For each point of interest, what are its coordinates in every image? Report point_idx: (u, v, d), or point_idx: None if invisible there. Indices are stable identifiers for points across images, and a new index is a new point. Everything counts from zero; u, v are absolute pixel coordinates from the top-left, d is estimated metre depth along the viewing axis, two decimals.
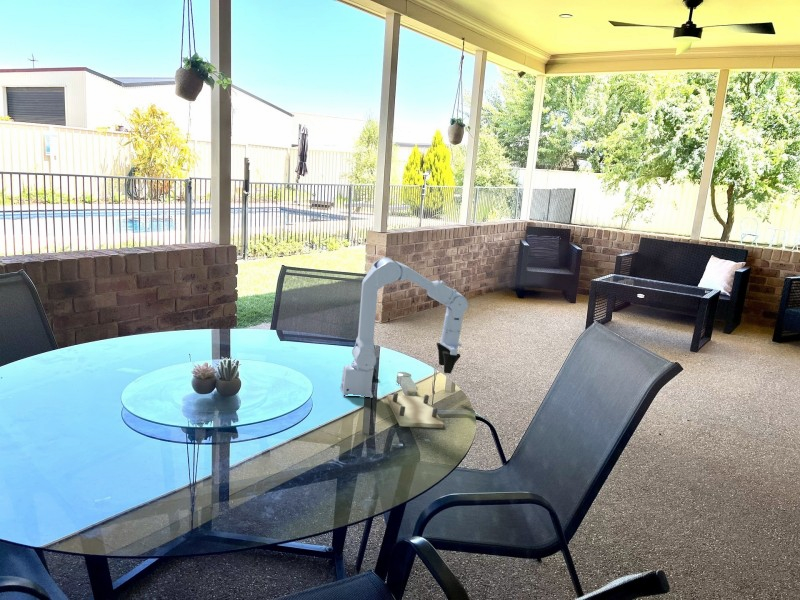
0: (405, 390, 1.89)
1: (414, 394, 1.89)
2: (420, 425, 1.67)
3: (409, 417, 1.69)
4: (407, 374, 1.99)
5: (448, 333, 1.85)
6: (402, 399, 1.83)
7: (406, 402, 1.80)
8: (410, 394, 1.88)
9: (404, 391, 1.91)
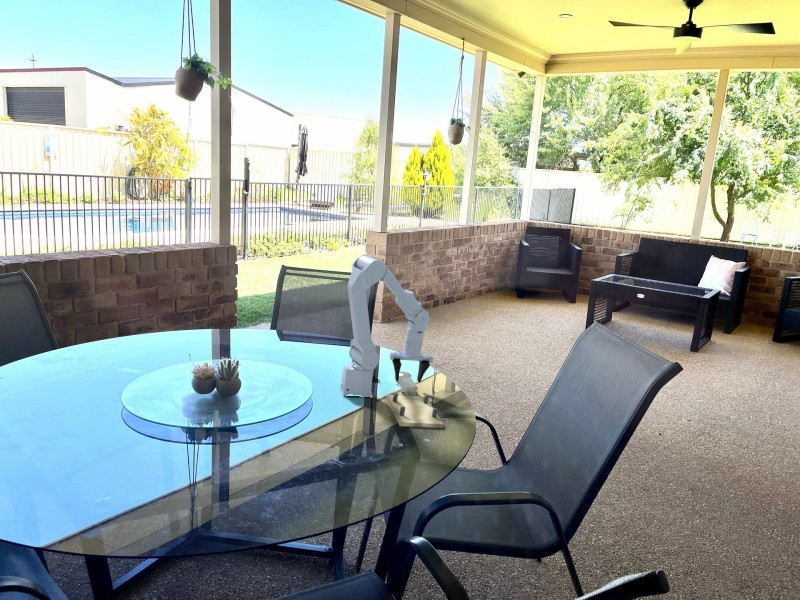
0: (406, 390, 1.89)
1: (414, 394, 1.89)
2: (420, 425, 1.67)
3: (409, 417, 1.69)
4: (407, 374, 1.99)
5: None
6: (402, 399, 1.83)
7: (406, 402, 1.80)
8: (410, 394, 1.88)
9: (404, 391, 1.91)
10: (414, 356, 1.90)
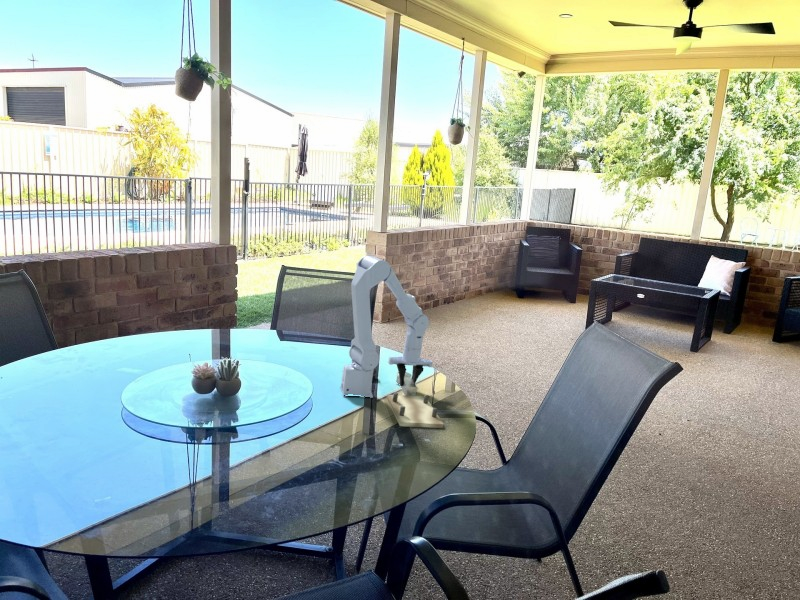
0: (405, 390, 1.89)
1: (414, 394, 1.89)
2: (420, 425, 1.67)
3: (409, 417, 1.69)
4: (407, 374, 1.99)
5: None
6: (402, 399, 1.83)
7: (406, 402, 1.80)
8: (410, 394, 1.88)
9: (404, 391, 1.91)
10: (413, 361, 1.90)
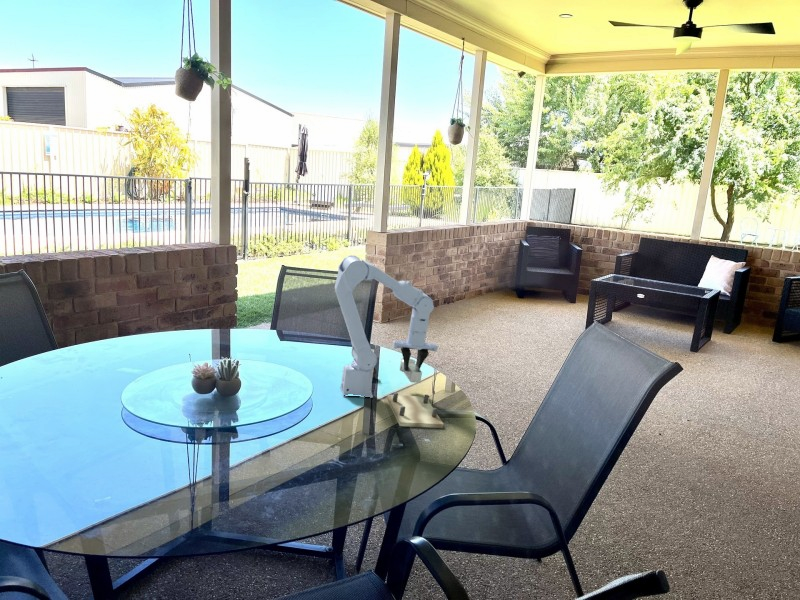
0: (410, 376, 1.83)
1: (419, 379, 1.83)
2: (420, 425, 1.67)
3: (409, 417, 1.69)
4: (411, 360, 1.94)
5: None
6: (402, 399, 1.83)
7: (406, 402, 1.80)
8: (415, 379, 1.83)
9: (409, 376, 1.85)
10: (418, 345, 1.84)
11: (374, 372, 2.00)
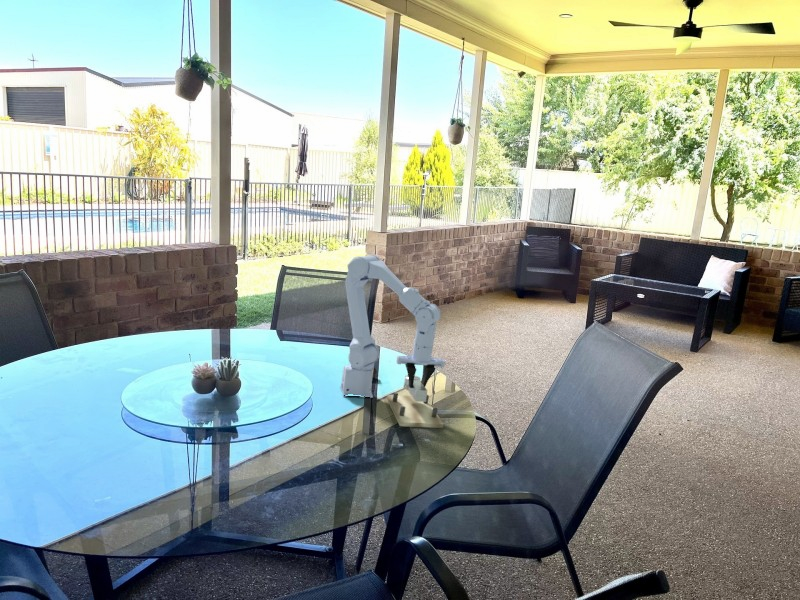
0: (415, 394, 1.71)
1: (424, 398, 1.71)
2: (420, 425, 1.67)
3: (409, 417, 1.69)
4: (416, 377, 1.82)
5: None
6: (402, 399, 1.83)
7: (406, 402, 1.80)
8: (420, 398, 1.71)
9: (413, 395, 1.73)
10: (424, 360, 1.71)
11: (374, 372, 2.00)
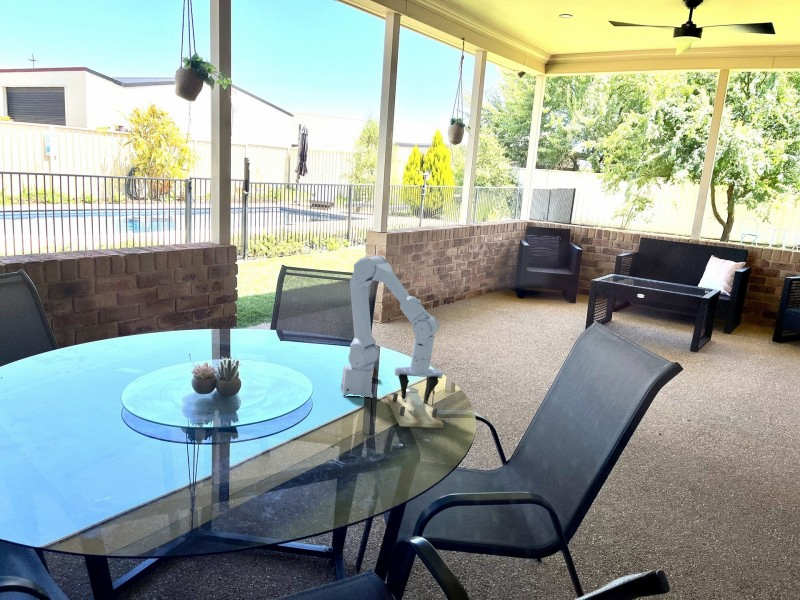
0: (413, 408, 1.72)
1: (422, 412, 1.72)
2: (420, 425, 1.67)
3: (409, 417, 1.69)
4: (414, 390, 1.82)
5: None
6: None
7: None
8: (418, 412, 1.71)
9: (411, 409, 1.74)
10: (422, 372, 1.72)
11: (375, 372, 2.00)
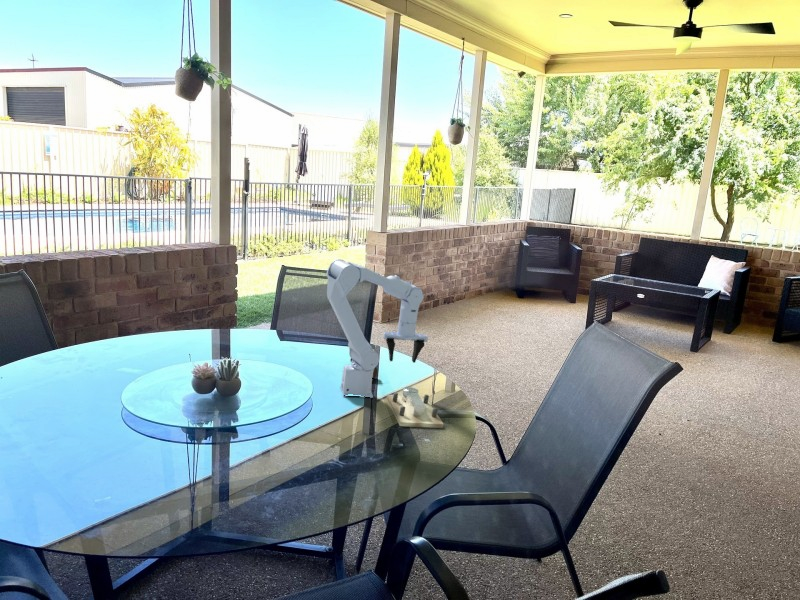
0: (413, 408, 1.72)
1: (422, 412, 1.72)
2: (420, 425, 1.67)
3: (409, 417, 1.69)
4: (414, 390, 1.82)
5: None
6: None
7: None
8: (418, 412, 1.71)
9: (411, 409, 1.74)
10: (408, 335, 1.86)
11: (376, 372, 2.00)
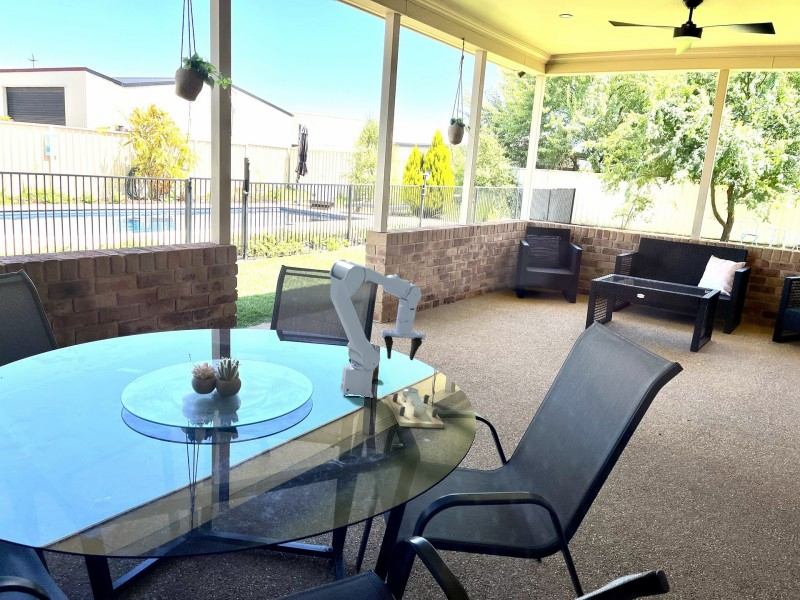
0: (413, 408, 1.72)
1: (422, 412, 1.72)
2: (420, 425, 1.67)
3: (409, 417, 1.69)
4: (414, 390, 1.82)
5: None
6: None
7: None
8: (418, 412, 1.71)
9: (411, 409, 1.74)
10: (406, 333, 1.88)
11: (377, 373, 2.00)
